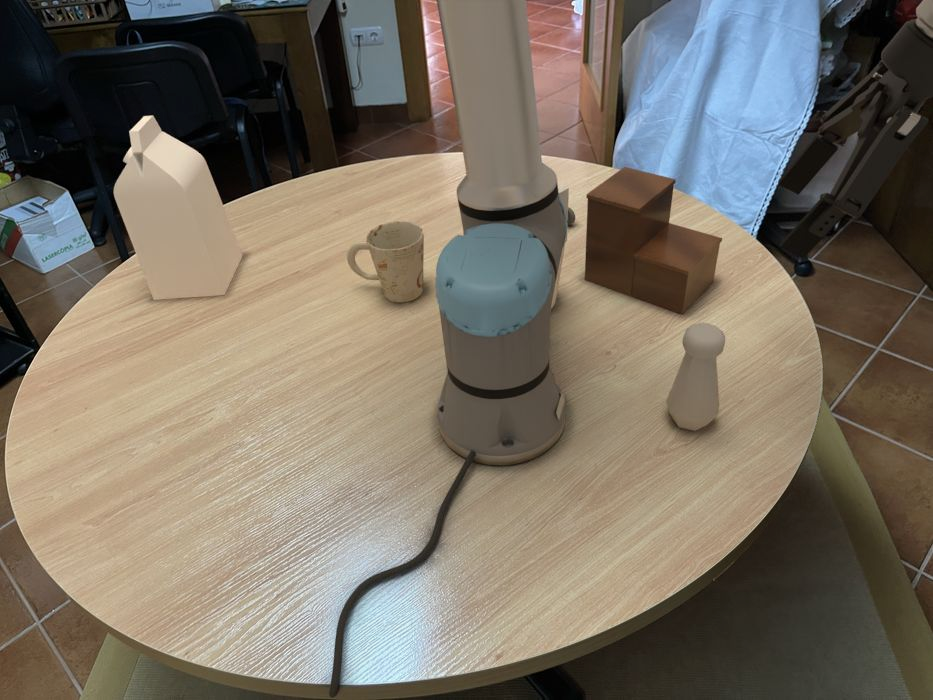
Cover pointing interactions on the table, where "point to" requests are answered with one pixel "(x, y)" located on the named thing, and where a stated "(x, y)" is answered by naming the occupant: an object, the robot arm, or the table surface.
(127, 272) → the table surface
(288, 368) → the table surface
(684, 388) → the salt shaker
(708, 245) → the step shelf
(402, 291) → the mug
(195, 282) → the milk
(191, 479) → the table surface
